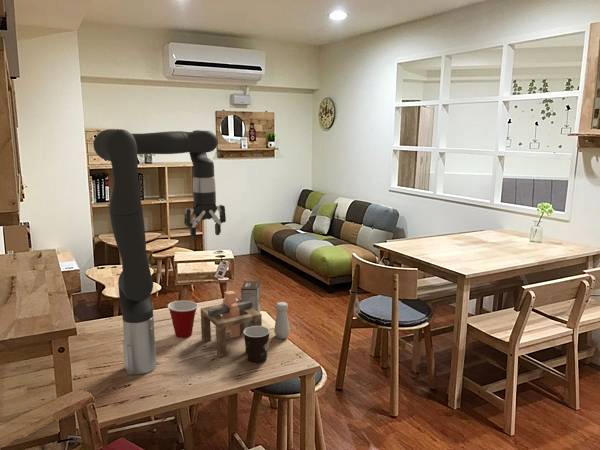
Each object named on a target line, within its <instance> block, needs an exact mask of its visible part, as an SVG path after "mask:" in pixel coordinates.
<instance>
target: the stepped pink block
mask: <svg viewBox="0 0 600 450" xmlns="http://www.w3.org/2000/svg"><path fill="white" fill-rule="evenodd" d="M223 294H224V298H222V303H221V304H222V306H228V307H229V308H230V313H226V314H222V315H221V316H222V317H223V318H224V319H229V318H233V317H238V316H240V314H239V308H238V305H237V304H236V301H237V292H235V291H234V290H228V291H224V292H223ZM228 330H229V335H230V338H236V337H240V336H241V333H240V324H235V325H231V326H227V327H226V331H228Z"/></svg>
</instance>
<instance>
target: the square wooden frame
mask: <svg viewBox="0 0 600 450" xmlns="http://www.w3.org/2000/svg"><path fill="white" fill-rule="evenodd" d="M236 304H237V305H238V308H239V314H240V316H238V317H233V318H229V319H224V318H223V317H222V314H226V313H230V308H229V307H228V306H222V303H219V304H215V305H210V306H206V307H201V308H200V325H201V326H200V327H201V328H200V329H201V331H200V332H201V340H202V342H204V343H207V342H211V341H212V333H211V331H212V330H211V329H212V328H211V323H212V324H213V325H214V326H215V341H216V342H215V344H216V347H215V348H216V355H217V357H218V358H223V357H227V330H226V327H227V326H231V325H235V324H240V334H244V332H243V331H244V330H245V329H246V328H245V322H248V321H252V326H263V325H262V324H263V322H262V319H263V318H262V316H263V315H262V313H261V312H260V313H259V312H258V311H256V310H255V309H253V308H252V302H251V301H246V302H244V301H242V299H239V300H238V299H237V300H236ZM244 314H245V315H244Z"/></svg>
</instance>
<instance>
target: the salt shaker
mask: <svg viewBox="0 0 600 450" xmlns="http://www.w3.org/2000/svg"><path fill="white" fill-rule="evenodd" d="M275 309H276V311H277V312H276V317H275V323H274V328H273V331H274V334H275V337H276V338H277V339H280V340H284V339H287V338H288V336H289V334H290V333H291V329H290V324H289V323H290V322H289V319H288V313H287V310H288V309H289V305H288V303H287V302H285V301H279V302H277V303H276V304H275Z"/></svg>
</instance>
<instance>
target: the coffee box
mask: <svg viewBox="0 0 600 450" xmlns="http://www.w3.org/2000/svg"><path fill="white" fill-rule="evenodd" d="M240 293H241V300H242V301H244V302H246V301H251V302H252V308H253V309H255V310H256V311H258V312H259V313H261V281H260V280H245V281H244V280H243V283H242V287H241V291H240ZM244 315H245V314H244ZM251 326H252V321H248V322H245V329H246V328H248V327H251Z"/></svg>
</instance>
